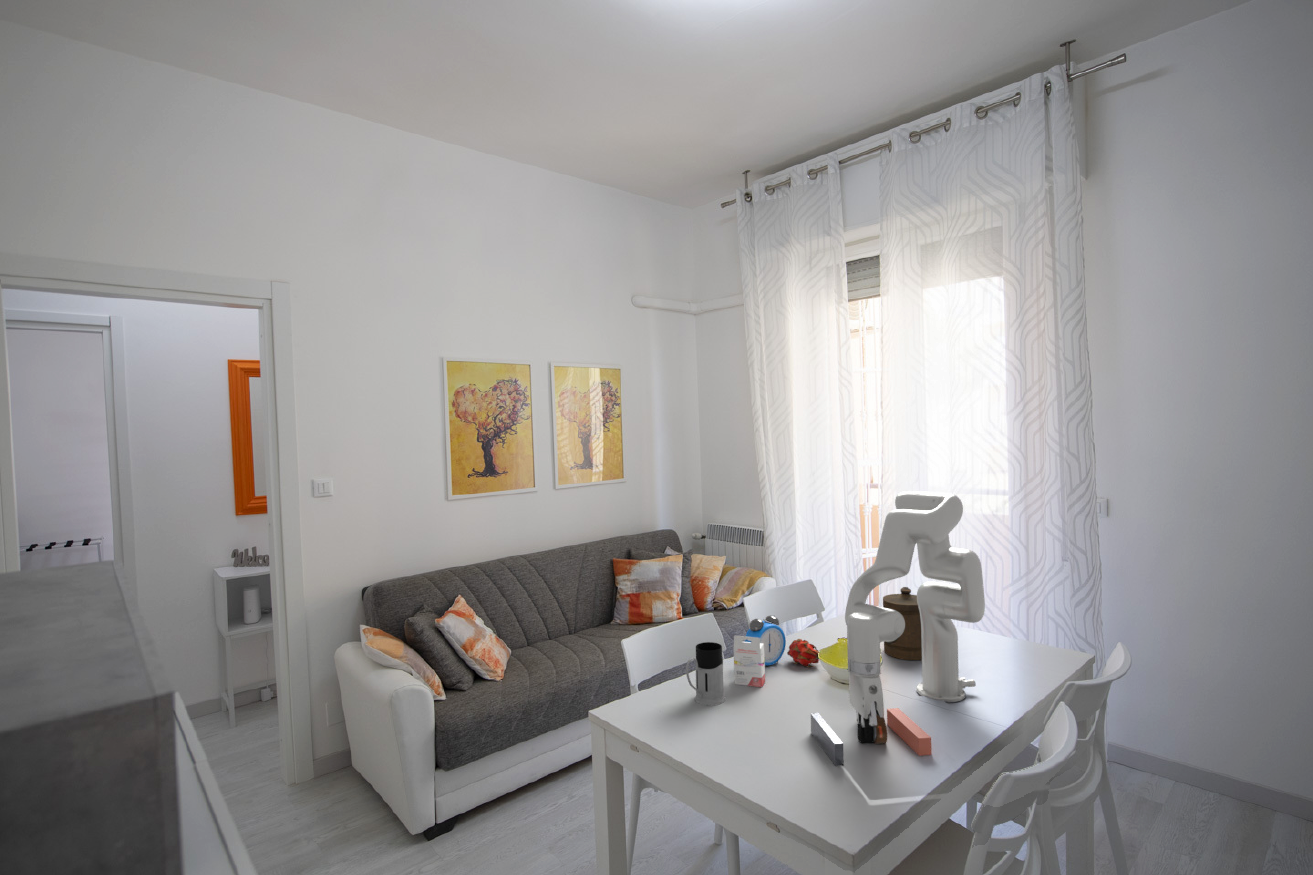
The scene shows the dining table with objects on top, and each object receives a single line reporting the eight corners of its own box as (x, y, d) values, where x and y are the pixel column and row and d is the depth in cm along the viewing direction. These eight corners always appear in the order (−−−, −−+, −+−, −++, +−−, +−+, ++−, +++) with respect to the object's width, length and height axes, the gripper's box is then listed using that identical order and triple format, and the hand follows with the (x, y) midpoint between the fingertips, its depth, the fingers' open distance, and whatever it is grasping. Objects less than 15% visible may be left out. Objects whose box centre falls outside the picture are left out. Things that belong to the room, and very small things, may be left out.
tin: (888, 750, 154) (888, 714, 154) (875, 750, 154) (874, 715, 154) (867, 721, 169) (866, 689, 169) (855, 721, 169) (854, 689, 169)
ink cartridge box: (765, 681, 197) (764, 633, 197) (762, 687, 193) (760, 638, 193) (738, 678, 201) (737, 630, 200) (733, 684, 196) (732, 635, 196)
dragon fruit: (789, 663, 217) (819, 678, 208) (777, 653, 211) (807, 668, 203) (800, 639, 219) (830, 653, 210) (789, 630, 214) (819, 643, 205)
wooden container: (879, 645, 227) (878, 582, 227) (924, 645, 225) (923, 582, 225) (889, 660, 213) (887, 592, 212) (936, 661, 210) (935, 593, 210)
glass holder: (731, 697, 186) (730, 645, 186) (700, 714, 176) (698, 659, 176) (707, 689, 192) (706, 639, 192) (675, 705, 182) (674, 652, 182)
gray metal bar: (818, 732, 164) (818, 712, 164) (843, 765, 148) (843, 743, 148) (811, 733, 164) (810, 713, 164) (835, 765, 148) (834, 743, 148)
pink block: (898, 723, 166) (898, 707, 166) (931, 754, 150) (931, 737, 150) (887, 724, 166) (886, 708, 166) (919, 755, 150) (918, 738, 150)
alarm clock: (756, 670, 207) (755, 623, 206) (743, 664, 212) (742, 618, 212) (786, 661, 213) (785, 616, 213) (774, 656, 219) (772, 611, 218)
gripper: (893, 676, 150) (895, 755, 150) (865, 654, 165) (867, 726, 165) (862, 678, 149) (863, 757, 150) (837, 655, 164) (838, 728, 164)
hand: (865, 741), depth 157 cm, fingers closed
